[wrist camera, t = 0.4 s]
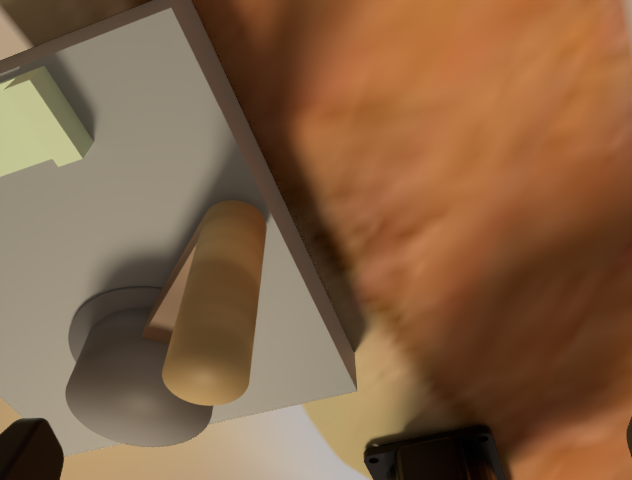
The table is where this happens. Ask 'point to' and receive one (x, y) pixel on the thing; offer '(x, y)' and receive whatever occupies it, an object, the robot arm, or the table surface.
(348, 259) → the table surface
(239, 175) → the stand base
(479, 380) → the table surface
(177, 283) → the cam lever
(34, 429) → the robot arm
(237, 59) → the table surface
